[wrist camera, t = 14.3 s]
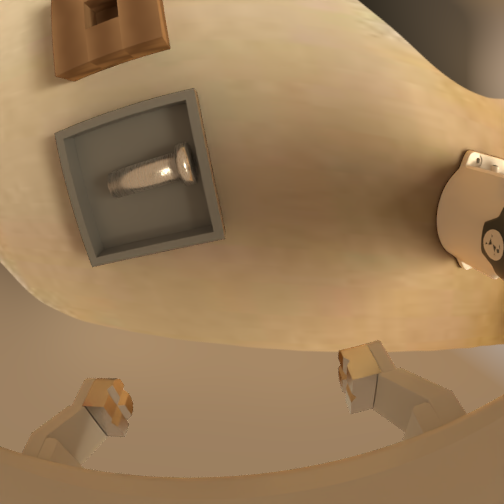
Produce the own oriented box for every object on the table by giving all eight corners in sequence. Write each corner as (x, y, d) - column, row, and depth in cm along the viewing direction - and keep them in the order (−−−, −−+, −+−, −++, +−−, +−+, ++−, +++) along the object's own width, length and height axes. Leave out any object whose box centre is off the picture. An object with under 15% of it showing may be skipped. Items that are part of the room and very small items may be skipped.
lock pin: (118, 166, 32) (191, 143, 32) (126, 202, 33) (200, 182, 33) (100, 166, 28) (181, 139, 27) (109, 207, 29) (191, 184, 28)
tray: (196, 92, 30) (194, 88, 27) (224, 228, 36) (225, 238, 33) (68, 132, 30) (54, 133, 27) (101, 255, 36) (92, 267, 33)
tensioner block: (158, -30, 23) (150, -48, 19) (170, 48, 28) (162, 36, 23) (68, 3, 23) (51, -9, 19) (74, 81, 28) (55, 76, 23)
